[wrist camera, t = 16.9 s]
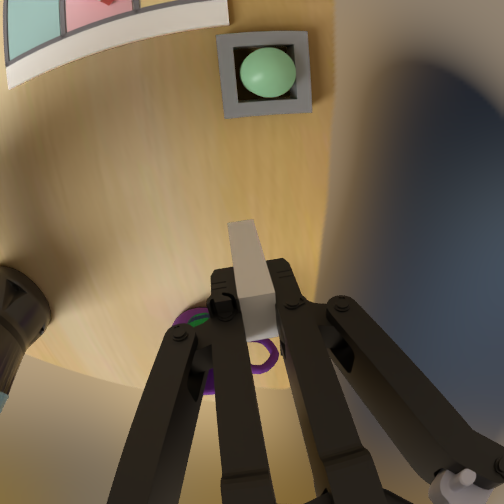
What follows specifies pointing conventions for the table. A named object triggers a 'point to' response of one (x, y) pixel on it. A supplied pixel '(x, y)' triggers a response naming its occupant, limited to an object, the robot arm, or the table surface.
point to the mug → (202, 315)
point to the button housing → (266, 106)
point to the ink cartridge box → (106, 1)
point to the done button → (267, 72)
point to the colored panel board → (92, 29)
